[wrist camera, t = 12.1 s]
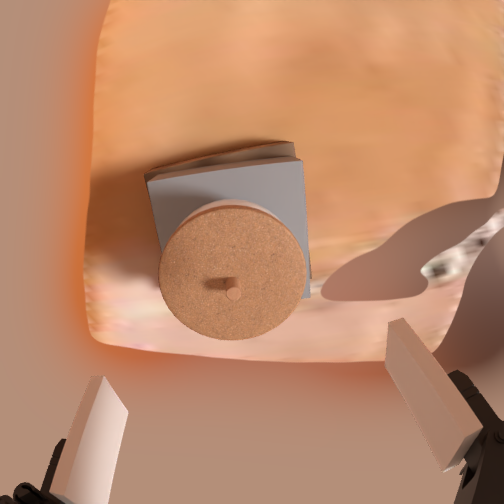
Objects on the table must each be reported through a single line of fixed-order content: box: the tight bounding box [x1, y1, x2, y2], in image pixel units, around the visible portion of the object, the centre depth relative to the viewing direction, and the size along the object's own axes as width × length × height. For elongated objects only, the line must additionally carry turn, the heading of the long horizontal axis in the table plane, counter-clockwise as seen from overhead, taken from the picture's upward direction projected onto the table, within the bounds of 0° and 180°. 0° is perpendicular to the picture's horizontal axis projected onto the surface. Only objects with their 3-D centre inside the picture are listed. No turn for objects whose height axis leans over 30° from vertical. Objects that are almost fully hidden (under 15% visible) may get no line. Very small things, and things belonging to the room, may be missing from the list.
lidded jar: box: [158, 199, 307, 340], centre depth 25 cm, size 11×11×9 cm
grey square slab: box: [147, 156, 310, 299], centre depth 32 cm, size 14×14×5 cm
